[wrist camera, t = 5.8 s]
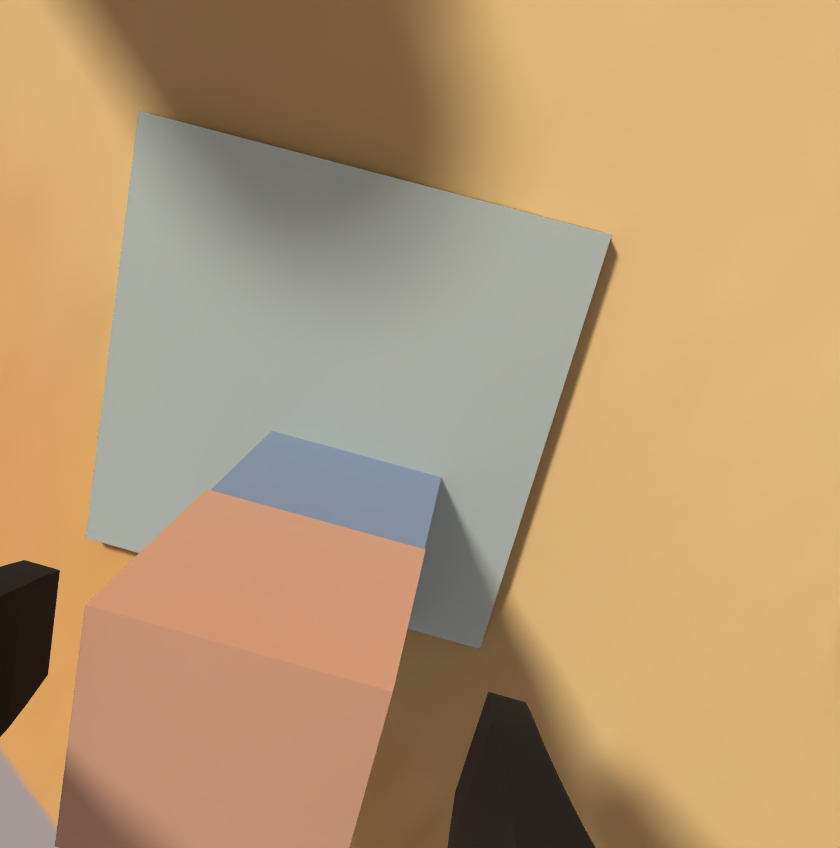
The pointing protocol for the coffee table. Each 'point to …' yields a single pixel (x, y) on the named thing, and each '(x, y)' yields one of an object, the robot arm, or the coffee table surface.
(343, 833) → the salmon orange cube
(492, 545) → the plate
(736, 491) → the coffee table surface
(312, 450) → the blue brick
